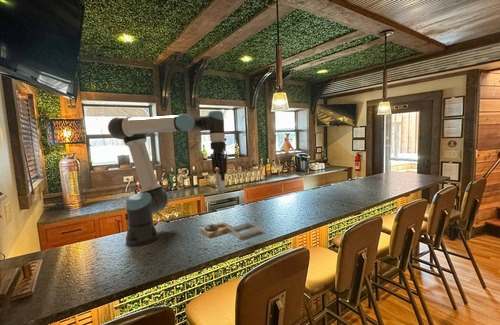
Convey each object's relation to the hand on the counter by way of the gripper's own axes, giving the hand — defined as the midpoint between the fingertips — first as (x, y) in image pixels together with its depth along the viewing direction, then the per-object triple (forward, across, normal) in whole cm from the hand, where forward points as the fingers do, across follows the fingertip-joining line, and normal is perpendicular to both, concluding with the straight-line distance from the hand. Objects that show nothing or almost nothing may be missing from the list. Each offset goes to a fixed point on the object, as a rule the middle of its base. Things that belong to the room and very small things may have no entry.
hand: (220, 186), depth 131 cm
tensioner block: (+25, +1, +4) cm, 25 cm away
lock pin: (+4, 0, 0) cm, 4 cm away
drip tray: (+25, -11, -6) cm, 28 cm away
